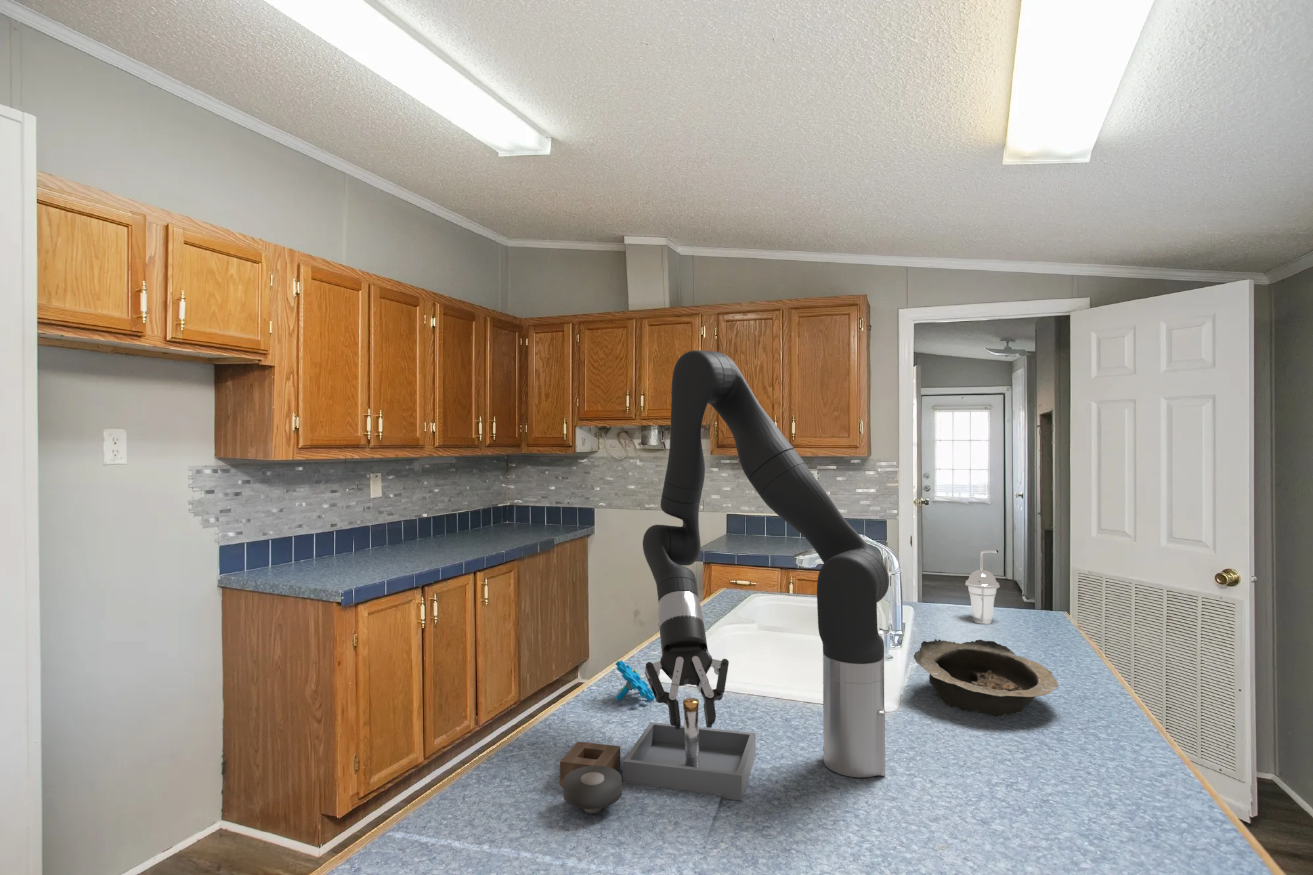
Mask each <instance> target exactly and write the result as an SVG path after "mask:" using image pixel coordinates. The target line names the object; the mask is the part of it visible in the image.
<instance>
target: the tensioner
mask: <svg viewBox="0 0 1313 875" xmlns="http://www.w3.org/2000/svg"><path fill="white" fill-rule="evenodd" d="M620 771H621V745H613V744H612V745H611V744H605V743H604V744H603V743H595V742H587V741H586V742H585V741H576V742H575V744H574V745H573V746H572V747H571V748H570V749H569V751H568V752H567V753H566V754H565V755H564V756H563V757H562V758H561V760H560V761H559V785H560V787H561V786H562V787H563V788H562V789H563V790H562V791H563V799H564V801H565V802H566V803H567V804H568V805H570V806H571V807H574V808H577V809H583V810H584V812H586V813H588V814H596V813H599V812H601V810H602V809H603V808H605V807H609V806H612V805H613V804H615V803H616V802H618V801H619V800H620V799H621V798H622V793H623V792H622V791H623V790H622V789H623V787H622V785H623V784H622V780H623V778H622V774H621V773H620Z"/></svg>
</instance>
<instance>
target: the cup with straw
mask: <svg viewBox="0 0 1313 875" xmlns="http://www.w3.org/2000/svg"><path fill="white" fill-rule="evenodd" d="M994 553H995V554H998V553H999V550H998V549H994V550H993V549H992V550H991V549H989V550H986V549H985V550H981V551H980V554H979V559H980V560H979V565H980V566H979V568H980V569H977V570H975V571H973V572H971V573H970V575H969V577H968V579H966V580H965V586H967V587H968V588H967V589H968V594H969V598H970V605H971V615H972V618H973V619H972V621H973V622H974V623H975V624H976V623H977V624H984V625H986V624H987V625H988V624H992V619H993V614H994V606H995V599H996V598H995V597H996V595H997V589H999V588H1000V587H1001V586H1000V583H999V582H998V581H997V579H996V576H994V574H993V573H992V572H990V571H988V570H985V569H984V554H994Z"/></svg>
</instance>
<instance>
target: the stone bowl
mask: <svg viewBox="0 0 1313 875" xmlns="http://www.w3.org/2000/svg"><path fill="white" fill-rule="evenodd" d="M913 659H914V660H915V663H917V664H918V665H919V666H920V667H921V668H922V669H923V670H925V671H926V672H927V673H928V674H929V676H928V679H929V680H928V681H929V684H930V685H932V686H933V688H934V690H935V693H936V694H937V696H938V698H939V699H940V701H941V702H943V703H944V704H945V705H947V706H948V707H952V708H957V709H958V710H960V711H965V712H974V711H975V712H978V713H982V714H986V715H989V716H993V717H1002V716H1005V715H1007V716H1008V715H1013V714H1019V713H1021V712H1022V711H1023V710H1024V709H1025V708H1026V706H1028V705H1029V704H1030V703H1031V702H1032V701H1033V700H1034V699H1035V698H1036V697H1042V696H1046V695H1049V694H1051V693H1053V692H1054V691H1055V690H1056V689H1057V688H1058V687H1059V685H1060V684H1059V683H1058V681H1057V679H1056V678H1055V677H1054V676H1053V672H1052V671H1050V670H1049V669H1048V668H1046V667H1045V666H1043V665H1042V664H1040V663H1038V662H1035V661H1033V660H1031V659H1028V658H1025V657H1024V656H1019V655H1016V654H1015V652H1013V651H1012V650H1011V649H1010V648H1008V646H1006V645H1002V644H999V643H997V642H996V641H993V640H983V639H975V640H974V641H973V640H972V641H965V642H961V643H958V642H955V641H947V640H943V639H942V640H941V639H940V638H939V639H938V640H937V638H935V639H934V640H931V641H929V640H928V641H926V640H923V641H922V642H921V645H920V647H919V649H918V650H917V651H916V652H914V654H913Z"/></svg>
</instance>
